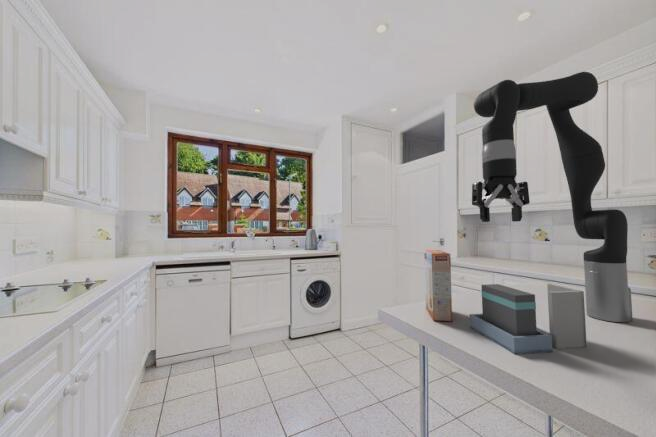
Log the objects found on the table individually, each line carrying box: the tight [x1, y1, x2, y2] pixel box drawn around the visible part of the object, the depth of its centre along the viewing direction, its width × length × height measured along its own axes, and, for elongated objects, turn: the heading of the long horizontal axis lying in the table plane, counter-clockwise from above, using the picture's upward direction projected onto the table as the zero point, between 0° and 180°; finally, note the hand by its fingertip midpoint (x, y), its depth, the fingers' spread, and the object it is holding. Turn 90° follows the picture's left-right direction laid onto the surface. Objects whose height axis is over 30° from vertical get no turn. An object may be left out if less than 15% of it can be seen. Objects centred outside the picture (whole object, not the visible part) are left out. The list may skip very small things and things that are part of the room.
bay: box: [536, 283, 587, 350], centre depth 67 cm, size 8×9×13 cm
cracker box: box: [424, 249, 453, 322], centre depth 88 cm, size 14×6×21 cm, turn 168°
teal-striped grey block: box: [480, 283, 538, 336], centre depth 68 cm, size 5×12×12 cm, turn 5°
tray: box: [468, 313, 553, 355], centre depth 69 cm, size 9×17×4 cm, turn 5°
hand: (501, 221), depth 70 cm, fingers open, 8 cm apart
